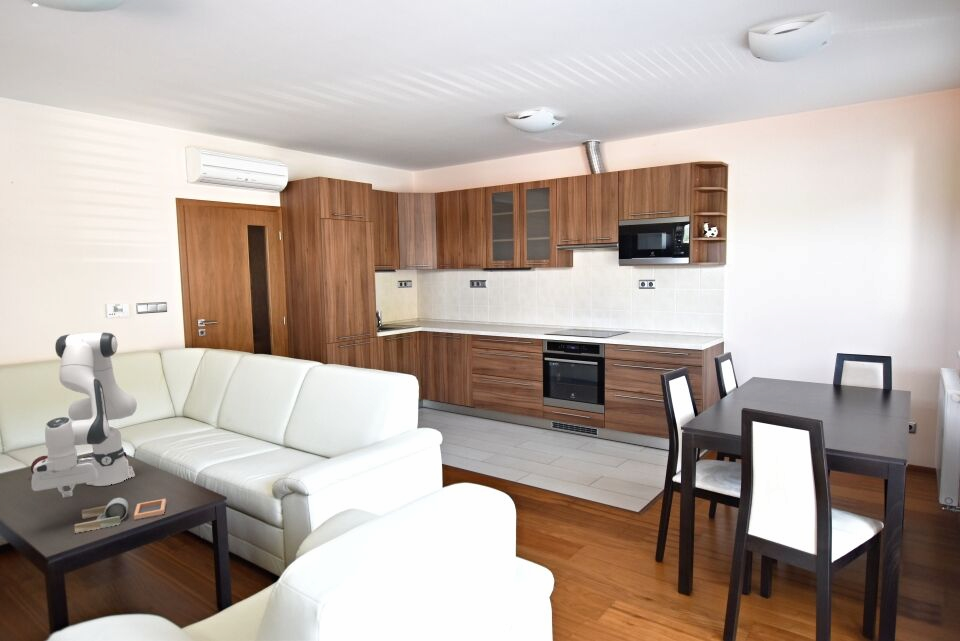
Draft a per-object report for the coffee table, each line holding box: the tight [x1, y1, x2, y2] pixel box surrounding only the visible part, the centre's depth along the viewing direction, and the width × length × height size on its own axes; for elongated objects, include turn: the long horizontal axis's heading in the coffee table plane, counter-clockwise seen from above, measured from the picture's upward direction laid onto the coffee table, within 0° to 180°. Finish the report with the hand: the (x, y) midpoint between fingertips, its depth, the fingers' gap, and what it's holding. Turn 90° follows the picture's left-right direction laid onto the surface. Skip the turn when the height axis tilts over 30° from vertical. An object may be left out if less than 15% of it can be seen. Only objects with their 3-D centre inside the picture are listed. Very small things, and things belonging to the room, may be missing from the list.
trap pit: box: [133, 498, 167, 521], centre depth 225 cm, size 12×10×2 cm
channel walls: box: [74, 505, 121, 534], centre depth 217 cm, size 15×14×3 cm
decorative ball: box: [30, 455, 48, 475], centre depth 266 cm, size 10×10×10 cm
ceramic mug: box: [96, 497, 129, 522], centre depth 219 cm, size 11×8×8 cm
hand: (67, 496), depth 215 cm, fingers closed
